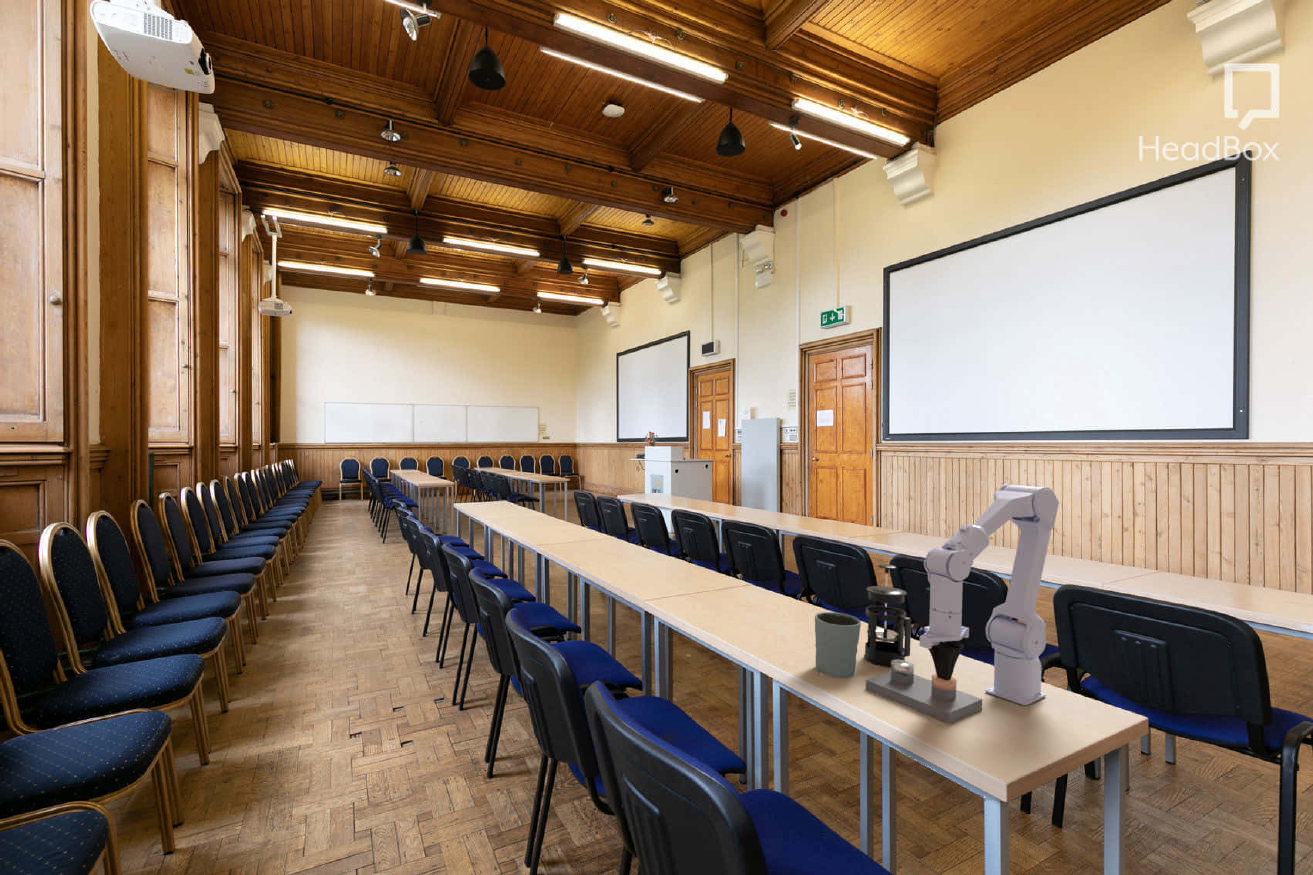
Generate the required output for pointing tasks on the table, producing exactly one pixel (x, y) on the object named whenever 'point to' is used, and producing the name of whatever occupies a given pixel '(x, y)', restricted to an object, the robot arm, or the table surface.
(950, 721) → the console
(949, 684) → the peach knob
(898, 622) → the french press
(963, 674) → the table surface
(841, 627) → the grey green cup
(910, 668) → the steel plunger
